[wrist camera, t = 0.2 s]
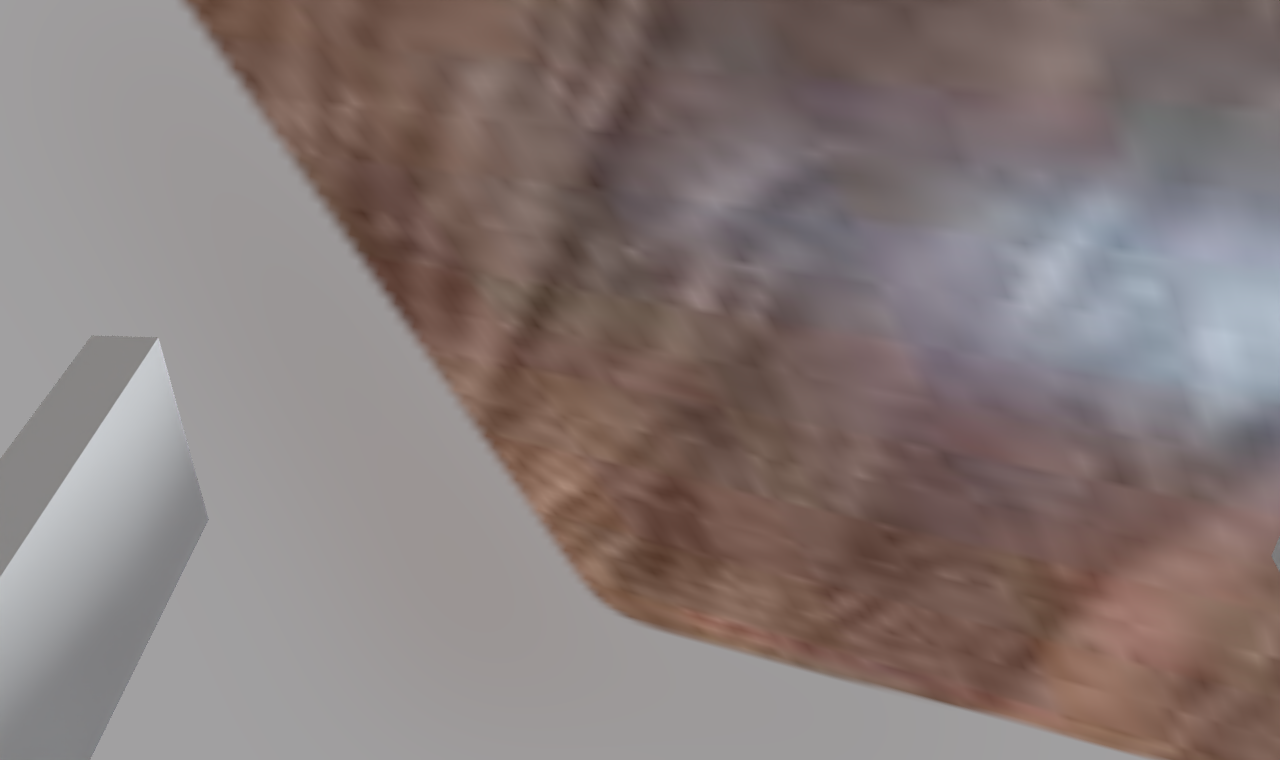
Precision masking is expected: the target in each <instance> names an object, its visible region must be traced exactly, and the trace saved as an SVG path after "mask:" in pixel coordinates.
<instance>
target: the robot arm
mask: <svg viewBox="0 0 1280 760" xmlns="http://www.w3.org/2000/svg"><path fill="white" fill-rule="evenodd" d="M207 521H208V516H207V512H206V509H205V505H204V501H203V497H202V494H201V490H200V487H199V483H198V479H197V476H196V472H195V469H194V465H193V461H192V458H191V454H190V450H189V447H188V443H187V440H186V436H185V432H184V429H183V425H182V422H181V418H180V414H179V411H178V407H177V404H176V400H175V396H174V393H173V389H172V386H171V382H170V378H169V374H168V371H167V368H166V364H165V360H164V356H163V353H162V349H161V345H160V342H159V338H157V337H123V336H120V337H119V336H91V337H90V339H89V340H88V341H87V343H86V344H85V345H84V347H83V348H82V349H81V351H80V352H79V353H78V355H77V356H76V357H75V359H74V360H73V362H72V363H71V364H70V365H69V367H68V368H67V370H66V371H65V372H64V374H63V375H62V376H61V378H60V379H59V380H58V382H57V383H56V384H55V386H54V387H53V388H52V390H51V391H50V392H49V394H48V395H47V397H46V398H45V399H44V401H43V402H42V403H41V405H40V406H39V407H38V409H37V410H36V411H35V413H34V414H33V415H32V417H31V418H30V419H29V421H28V422H27V424H26V425H25V426H24V428H23V429H22V430H21V432H20V433H19V434H18V436H17V437H16V438H15V440H14V441H13V442H12V444H11V445H10V446H9V448H8V449H7V451H6V452H5V453H4V455H3V456H2V457H1V459H0V760H90V759H91V756H92V754H93V753H94V751H95V748H96V746H97V744H98V742H99V740H100V738H101V736H102V734H103V732H104V730H105V728H106V726H107V724H108V722H109V720H110V718H111V716H112V714H113V712H114V710H115V708H116V706H117V704H118V702H119V700H120V698H121V696H122V694H123V691H124V690H125V688H126V686H127V684H128V682H129V680H130V678H131V675H132V674H133V671H134V670H135V667H136V666H137V663H138V661H139V659H140V657H141V655H142V653H143V651H144V649H145V647H146V645H147V643H148V641H149V639H150V637H151V635H152V633H153V631H154V629H155V627H156V625H157V623H158V621H159V619H160V617H161V615H162V613H163V611H164V609H165V607H166V605H167V602H168V601H169V598H170V597H171V595H172V593H173V591H174V588H175V587H176V585H177V582H178V580H179V578H180V576H181V574H182V572H183V570H184V568H185V566H186V564H187V562H188V560H189V558H190V556H191V554H192V552H193V550H194V548H195V546H196V544H197V542H198V540H199V538H200V536H201V534H202V532H203V530H204V528H205V526H206V523H207ZM1272 558H1273V560H1274V562H1275V564H1276V566H1277V568H1278V570H1279V571H1280V537H1279V539H1278V542H1277V544H1276V546H1275V549H1274V551H1273V554H1272Z"/></svg>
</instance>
